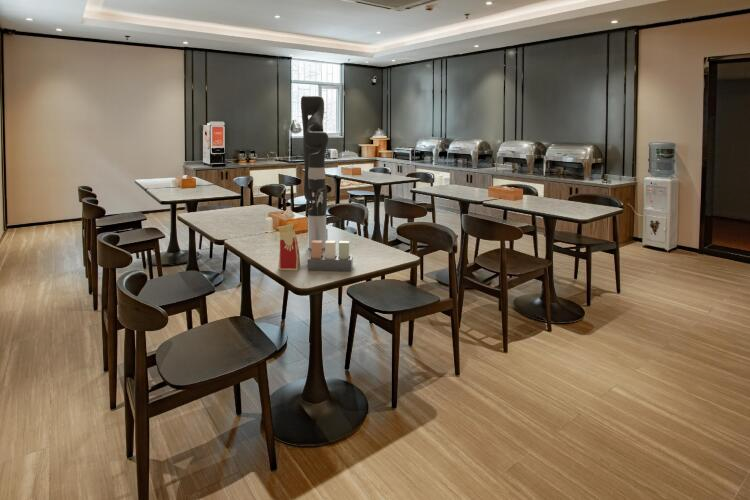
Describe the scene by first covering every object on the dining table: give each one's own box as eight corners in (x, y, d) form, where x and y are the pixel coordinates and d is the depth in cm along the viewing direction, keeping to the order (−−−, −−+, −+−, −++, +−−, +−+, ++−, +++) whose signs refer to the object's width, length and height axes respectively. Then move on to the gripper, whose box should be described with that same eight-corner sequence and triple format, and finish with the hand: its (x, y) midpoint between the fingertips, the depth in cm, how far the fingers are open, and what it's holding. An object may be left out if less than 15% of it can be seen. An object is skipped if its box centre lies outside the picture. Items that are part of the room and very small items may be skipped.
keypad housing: (307, 270, 222) (307, 259, 220) (310, 265, 230) (310, 254, 229) (351, 271, 221) (351, 260, 220) (352, 265, 230) (352, 255, 229)
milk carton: (300, 264, 230) (299, 221, 226) (297, 270, 221) (296, 225, 217) (279, 264, 230) (278, 221, 225) (276, 270, 221) (275, 225, 216)
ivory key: (325, 259, 223) (325, 242, 221) (326, 256, 227) (326, 240, 225) (334, 259, 223) (334, 242, 221) (335, 256, 227) (335, 240, 225)
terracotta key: (311, 258, 223) (311, 242, 221) (312, 256, 227) (312, 240, 225) (321, 259, 223) (320, 242, 221) (322, 256, 227) (322, 240, 225)
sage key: (338, 259, 223) (338, 242, 221) (339, 257, 227) (339, 240, 225) (348, 259, 222) (348, 243, 221) (349, 257, 226) (349, 241, 225)
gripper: (312, 175, 234) (313, 210, 238) (304, 178, 220) (305, 216, 224) (328, 176, 233) (328, 211, 237) (321, 179, 219) (321, 216, 223)
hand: (317, 213), depth 230 cm, fingers open, 8 cm apart
